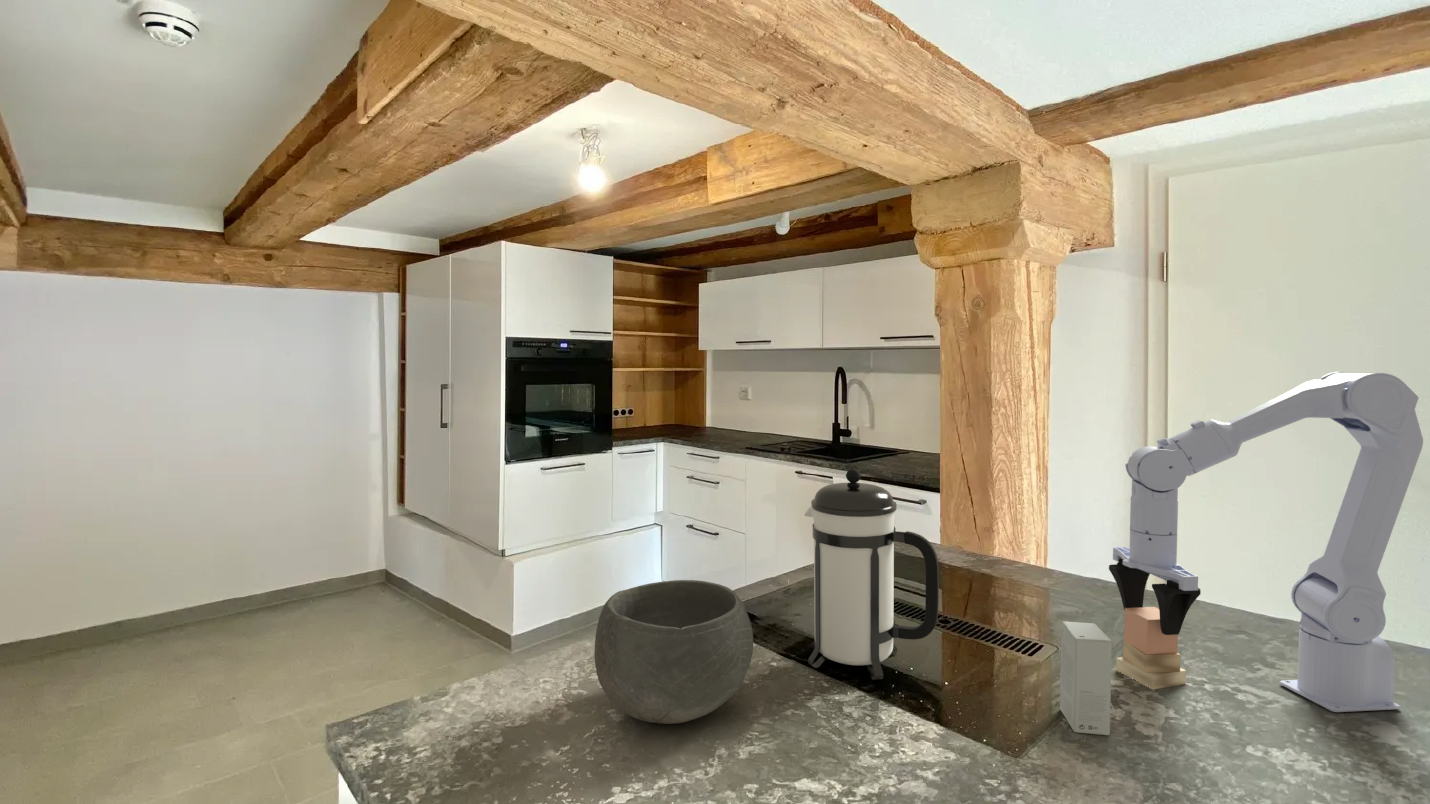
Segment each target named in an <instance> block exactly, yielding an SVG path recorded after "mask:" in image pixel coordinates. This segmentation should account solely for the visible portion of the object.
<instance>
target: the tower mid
mask: <svg viewBox="0 0 1430 804" xmlns="http://www.w3.org/2000/svg"><path fill="white" fill-rule="evenodd" d="M1122 657H1124V658H1126V659H1127V660H1128V661H1130V662H1131V663H1133V664H1134V665H1135V666H1137V667H1138V668H1139V669H1141V670H1142V671H1144V672H1180V668H1181V654H1180V653H1179V652H1177V653H1168V654H1145V653H1143V652H1142V651H1140V650H1138V649H1137V648H1135V647H1133V646H1132V645H1130V644H1128V643H1126V642H1125V641H1124V640H1123V656H1122Z"/></svg>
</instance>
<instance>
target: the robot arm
mask: <svg viewBox="0 0 1430 804" xmlns="http://www.w3.org/2000/svg"><path fill="white" fill-rule="evenodd" d="M1418 401H1419V396H1418V395H1417V394H1416V393H1415V392H1414V391H1413V390H1412V389H1411V388H1410V387H1409V386H1408V385H1407V384H1406V383H1405V382H1404V381H1403V380H1401V379H1400V378H1399V377H1398V376H1395V375H1393V374H1390V373H1386V372H1372V373H1361V372H1360V373H1357V372H1355V373H1351V372H1349V371H1347V372H1344V371H1334V372H1330V373H1327V374H1324V375H1323V376H1321V377H1320V378H1318V379H1312V380H1309V381H1305V382H1303V383H1301V384H1299V385H1297V386H1295V387H1294V388H1292V389H1290V390H1288V391H1286V392H1284V393H1282V394H1279V395H1278V396H1275V397H1274V398H1272V399H1270V400H1268V401H1266V402H1264V403H1262V404H1261V405H1258V406H1257V407H1254V408H1252V409H1251V410H1249V411H1246V412H1244V413H1243V414H1241V415H1237V416H1236V417H1234V418H1233V419H1230V420H1229V421H1227V422H1223V421H1219V420H1215V419H1209V420H1206V421H1204V420H1201V419H1197V420H1195V421H1193V422H1191V423H1190V426H1191V428H1189V429H1187V430H1184V431H1182V432H1180V433H1178V434H1176V435H1173V436H1172V437H1169V438H1165V437H1161V438H1159V439H1157V440H1156V443H1157V446H1154V445H1153V446H1150V445H1149V446H1143V447H1140V448H1137V449H1136V450H1134V451H1133V452H1132V455H1130V456H1129V458H1128V461H1127V463H1125V465H1124V466H1125V471H1126V472H1127V475H1128V477H1130V479H1131V497H1130V509H1129V510H1130V511H1129V512H1130V515H1129V516H1130V517H1129V548H1128V547H1125V546H1115V547H1112V560H1113V561H1115V562H1116V564H1109V565H1108V570H1109V572H1110V574H1111V575H1112V577H1113V579H1114V581H1115V583H1116V586H1117V589H1118V591H1119V595H1120V598H1121V602H1122V607H1123V610H1124V612H1125V608H1140V607H1144V598H1145V590H1146V587H1147V586H1146V585H1147V583H1148V579H1149V577H1150V575H1152V576H1155V577H1157V578H1159V579H1162V580H1163V581H1166V583H1152V584H1151V587H1152V590H1153V592H1154V594H1155V598H1156V600H1157V605H1158V609H1159V612H1160V627H1161V631H1162V633H1163V634H1165V635H1178V636H1179V635H1180V632H1181V630H1182V627H1183V625H1184V621H1185V618H1186V615H1187V614H1188V612H1189V609H1191V606H1192V605H1193V604H1194V602H1195V601H1196V600H1197V598H1199V596H1201V593H1202V592H1201V588H1200V587H1199V575H1196V574H1194V573H1192V572H1190V571H1188V570H1187V569H1186V568H1185V567H1184V566H1182V565H1181V564H1179V563H1178V562H1177V560H1178V559H1177V556H1178V519H1179V518H1178V516H1179V501H1178V497H1179V495H1178V493H1179V490H1178V489H1179V488H1180V487H1182V486H1183V484H1184V483H1185V482H1186V481H1185V480H1186V479H1187V476H1188V477H1190V476H1193V475H1195V474H1198V473H1199V472H1202V471H1204V470H1206V469H1208V468H1211V467H1213V466H1215V465H1218V464H1221V463H1223V462H1225V461H1227V460H1229V459H1232V458H1235V457H1237V455H1238V453H1239V451H1240V448H1241V447H1242V444H1243V443H1244V442H1245V443H1246V442H1248V441H1250V440H1252V439H1255V438H1258V437H1260V436H1264V435H1265V434H1268V433H1271V432H1273V431H1276V430H1279V429H1280V428H1283V427H1286V426H1289V425H1291V424H1293V423H1296V422H1298V421H1301V420H1304V419H1307V418H1308V419H1310V418H1313V419H1315V418H1318V419H1330V420H1332V421H1334V422H1336V423H1337V424H1339V425H1341V426H1342V427H1344V429H1345V430H1346V431H1348V433H1349V434H1350V435H1351V436H1352V437H1353V438H1354V440H1356V442H1357V443H1358V444H1359V446H1360V449H1359V452H1358V456H1357V459H1356V461H1355V464H1354V467H1353V470H1352V473H1351V475H1350V479H1349V481H1348V484H1347V487H1346V489H1345V490H1346V491H1345V492H1344V496H1343V499H1342V501H1341V504H1340V507H1339V511H1338V514H1337V516H1336V519H1335V522H1334V524H1333V527H1332V530H1331V533H1330V536H1329V539H1328V542H1327V545H1326V548H1325V551H1324V553H1323V555H1322V556H1321V557H1319V558H1317V559H1316V560H1314V561H1312V562H1311V563H1309V565H1308V567H1307V570H1306V573H1304V575H1303V576H1302V577H1301V578H1300V579H1298V580H1297V581H1296V582H1295V584H1294V585H1293V587H1292V589H1291V593H1290V595H1291V596H1290V598H1291V600H1292V604H1293V605H1294V607H1295V608H1296V609H1297V610H1298V612H1299V613H1301V614H1300V616H1301V617H1300V621H1299V631H1298V657H1297V658H1298V659H1297V661H1298V662H1297V679H1288V680H1287V679H1286V680H1280V681H1279V684H1280V685H1281V686H1283V687H1285V688H1286V689H1288V690H1290V691H1292V692H1294V693H1296V694H1298V695H1300V696H1302V697H1304V698H1306V699H1308V700H1309V701H1311V702H1313V703H1315V704H1317V705H1318V706H1321V707H1323V708H1324V709H1327V710H1328V711H1330V712H1334V713H1344V712H1347V713H1348V712H1365V711H1367V712H1369V711H1386V710H1388V711H1389V710H1400V707H1401V705H1399V704H1398V703H1396V702H1394V688H1395V685H1394V684H1395V668H1396V667H1395V666H1396V665H1395V663H1396V662H1395V655H1394V653H1393V650H1392V649H1391V647H1390V645H1389V644H1388V642H1386V641H1385V640H1384V639H1383V638H1382V637H1380V635H1381V634H1382V632H1383V631H1384V629H1385V626H1386V621H1387V620H1386V618H1387V617H1386V614H1385V610H1384V602H1385V599H1386V596H1387V593H1386V589H1385V588H1384V584H1383V583H1382V581H1381V578H1380V576H1379V574H1378V571H1379V568H1380V566H1381V563H1382V560H1383V557H1384V556H1385V552H1386V549H1387V546H1388V544H1389V541H1390V538H1391V535H1392V533H1393V530H1394V527H1395V524H1396V521H1397V519H1398V516H1399V514H1400V511H1401V508H1402V506H1403V505H1402V504H1403V502H1404V499H1405V496H1406V494H1407V491H1408V488H1409V485H1410V483H1411V480H1412V477H1413V474H1414V472H1415V469H1416V466H1417V464H1418V460H1419V457H1420V455H1421V453H1422V449H1423V444H1424V437H1423V434H1422V431H1421V427H1420V423H1419V420H1418V416H1417V412H1416V407H1417V403H1418Z"/></svg>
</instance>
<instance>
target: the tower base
mask: <svg viewBox="0 0 1430 804" xmlns="http://www.w3.org/2000/svg"><path fill="white" fill-rule="evenodd" d="M1115 669H1116V670H1117V671H1116V672H1118V673H1120V672H1121V673H1120V674H1122V675H1123V674H1124V676H1125V675H1127V676H1129V677H1131V678H1133V679H1135V680H1136V681H1135V680H1134V681H1135V682H1137V681H1138V682H1137V683H1139V682H1140V683H1139V684H1141V683H1142V684H1141V685H1142V686H1144V685H1145V687H1146V686H1147V688H1148V687H1149V688H1148V689H1150V690H1157V689H1163V688H1170V687H1175V686H1182V685H1186V684H1187V670H1186V669H1184V668H1182V667H1180V672H1144V671H1142V670H1141V669H1139V668H1138V667H1137V666H1135V665H1134V664H1133V663H1131V662H1130V661H1128V660H1127V659H1126V658H1124V657H1123V656H1122V657H1121V656H1119V657H1116V668H1115ZM1127 676H1126V677H1127ZM1129 677H1128V678H1129ZM1131 678H1130V679H1131ZM1133 679H1132V680H1133ZM1181 684H1182V685H1181Z"/></svg>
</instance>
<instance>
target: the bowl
mask: <svg viewBox="0 0 1430 804" xmlns="http://www.w3.org/2000/svg"><path fill="white" fill-rule="evenodd" d="M741 599H742V598H740V597H739V596H738V594H737V593H736V592H735V591H734V590H733V589H731V588H729V587H727V586H725V585H722V584H721V583H720V584H719V583H715V582H712V581H711V582H710V581H704V580H697V579H696V580H695V579H678V580H677V579H676V580H665V581H664V580H663V581H656V582H652V583H645V584H641V585H639V586H634V587H630V588H627V589H623V590H619V591H616V592H614V594H612V595H611V596H610V597H609V598H608V599H607V600H606V602H605V603H604V604H603V606H602V610H601V612H600V615H599V616H598V622H597V626H596V631H595V639H594V665H595V666H594V667H595V671H596V675H597V680H598V681H599V685H600V687H601V689H602V691H603V692H604V694H605V696H606V697H607V699H608V700H609V701H610V703H611V704H613V705H614V706H615V707H616V708H618V709H619V710H620V711H621V712H623V713H624V714H625V715H627V716H629V717H632V718H634V719H637V720H639V721H643V722H647V723H652V724H653V723H654V724H655V723H656V724H667V725H668V724H669V725H670V724H671V725H673V724H681V723H687V722H689V721H693V720H696V719H698V718H701V717H704V716H706V715H708V714H710V713H712V712H714V711H716V710H718V708H720V707H721V706H722V705H724V704H725V703H726V702H727V701H729V700H730V699H731V698H732V697H733V696H734V695H735V694H736V693H737V692H738V690H739V689H740V688H741V686H742V684H743V682H744V680H745V679H746V676H747V673H748V671H749V668H750V665H751V662H752V657H753V651H754V650H753V649H754V632H753V627H752V623H751V619H750V617H749V614H748V611H747V609H746V607H745V605H744V602H743V601H742V600H741Z"/></svg>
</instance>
